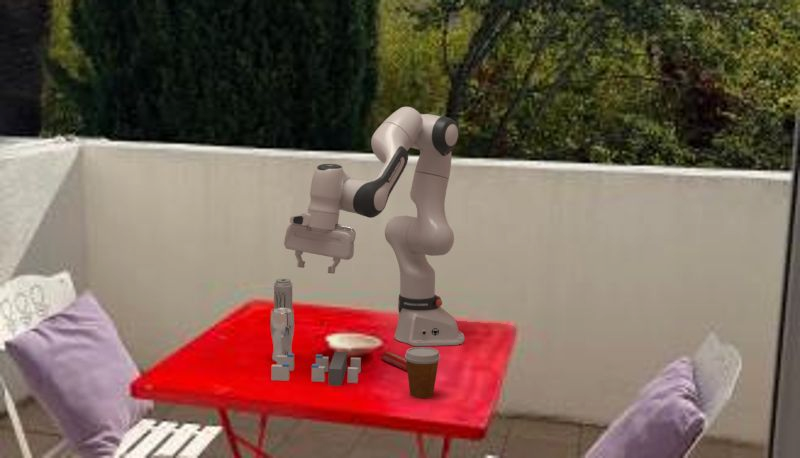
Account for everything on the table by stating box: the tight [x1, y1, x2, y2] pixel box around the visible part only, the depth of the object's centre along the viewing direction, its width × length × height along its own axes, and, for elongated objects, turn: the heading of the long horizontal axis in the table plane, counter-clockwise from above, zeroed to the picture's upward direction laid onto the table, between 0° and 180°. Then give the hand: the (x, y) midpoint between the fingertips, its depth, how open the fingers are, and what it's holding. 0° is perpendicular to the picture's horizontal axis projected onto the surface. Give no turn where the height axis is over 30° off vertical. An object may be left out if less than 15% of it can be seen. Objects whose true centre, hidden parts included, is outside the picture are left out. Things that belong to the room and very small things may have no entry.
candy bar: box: [380, 351, 408, 372], centre depth 299 cm, size 16×4×3 cm, turn 35°
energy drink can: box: [273, 278, 293, 309], centre depth 340 cm, size 6×6×15 cm
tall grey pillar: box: [328, 351, 348, 387], centre depth 288 cm, size 4×16×5 cm, turn 177°
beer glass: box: [270, 308, 295, 363], centre depth 301 cm, size 7×7×15 cm
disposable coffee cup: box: [404, 346, 441, 399], centre depth 273 cm, size 10×10×12 cm
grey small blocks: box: [270, 353, 362, 384], centre depth 288 cm, size 24×10×5 cm, turn 87°
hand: (315, 270), depth 286 cm, fingers open, 8 cm apart
